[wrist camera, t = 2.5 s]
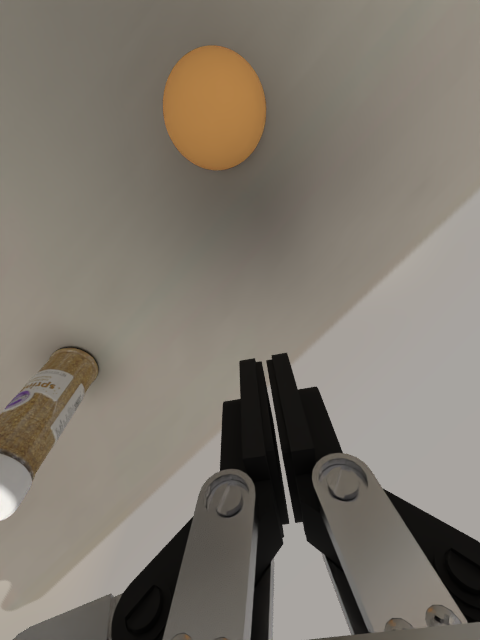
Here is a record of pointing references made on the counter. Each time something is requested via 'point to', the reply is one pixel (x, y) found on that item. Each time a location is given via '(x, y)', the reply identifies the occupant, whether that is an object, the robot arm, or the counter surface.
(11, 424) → the sprinkles bottle
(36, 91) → the counter surface
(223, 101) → the ball
